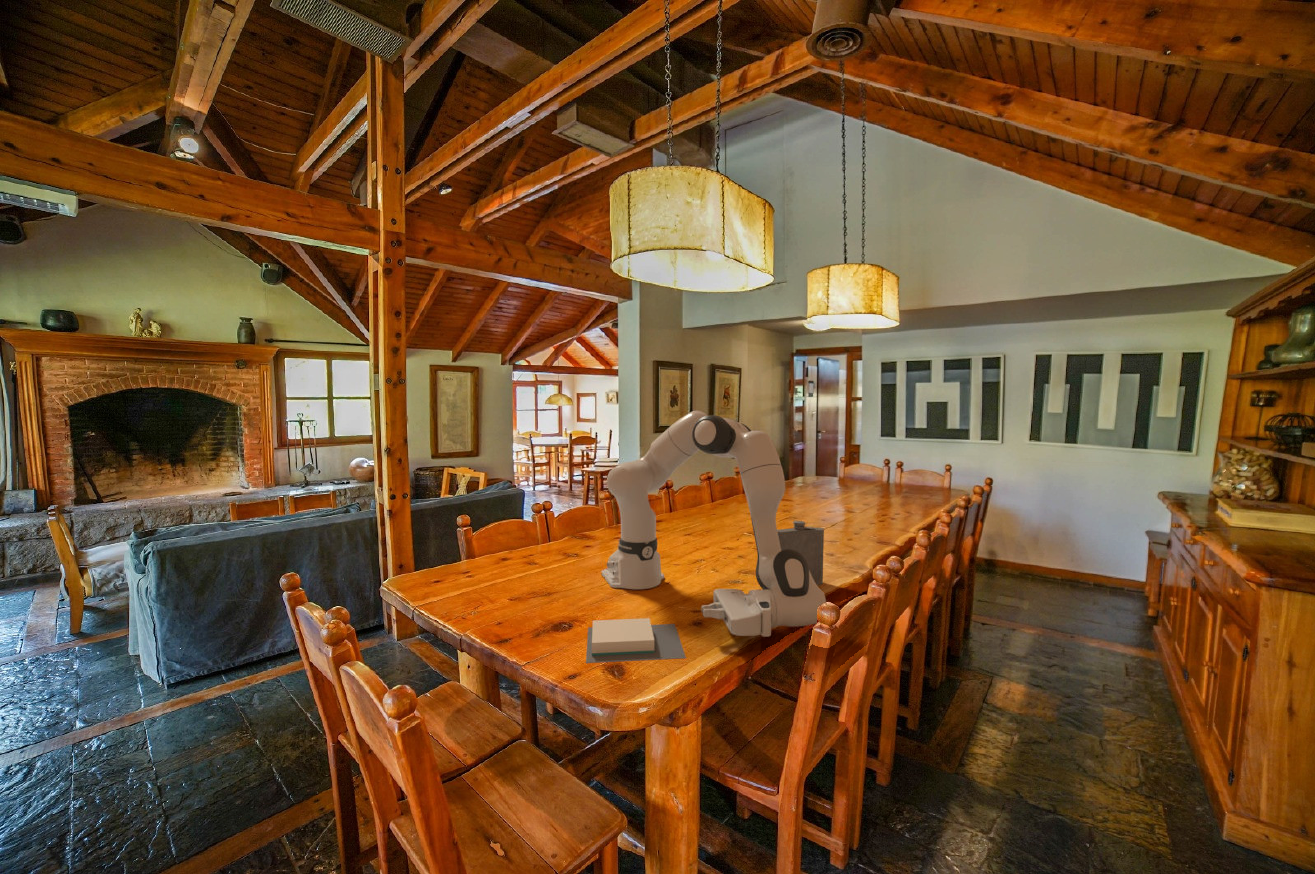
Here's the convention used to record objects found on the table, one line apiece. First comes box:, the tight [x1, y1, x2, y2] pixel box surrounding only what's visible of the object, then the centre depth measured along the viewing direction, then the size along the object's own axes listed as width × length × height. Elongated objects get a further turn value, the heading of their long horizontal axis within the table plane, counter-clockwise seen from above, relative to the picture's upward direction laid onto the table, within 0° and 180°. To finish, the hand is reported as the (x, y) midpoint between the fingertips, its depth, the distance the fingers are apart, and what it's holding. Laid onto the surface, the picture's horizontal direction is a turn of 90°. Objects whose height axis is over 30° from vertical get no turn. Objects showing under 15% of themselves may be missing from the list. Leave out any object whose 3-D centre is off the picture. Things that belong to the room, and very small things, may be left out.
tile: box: [592, 617, 654, 656], centre depth 122 cm, size 3×12×14 cm
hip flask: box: [777, 520, 825, 586], centre depth 163 cm, size 16×4×20 cm, turn 102°
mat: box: [585, 623, 687, 664], centre depth 122 cm, size 22×18×1 cm
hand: (702, 611), depth 123 cm, fingers closed
